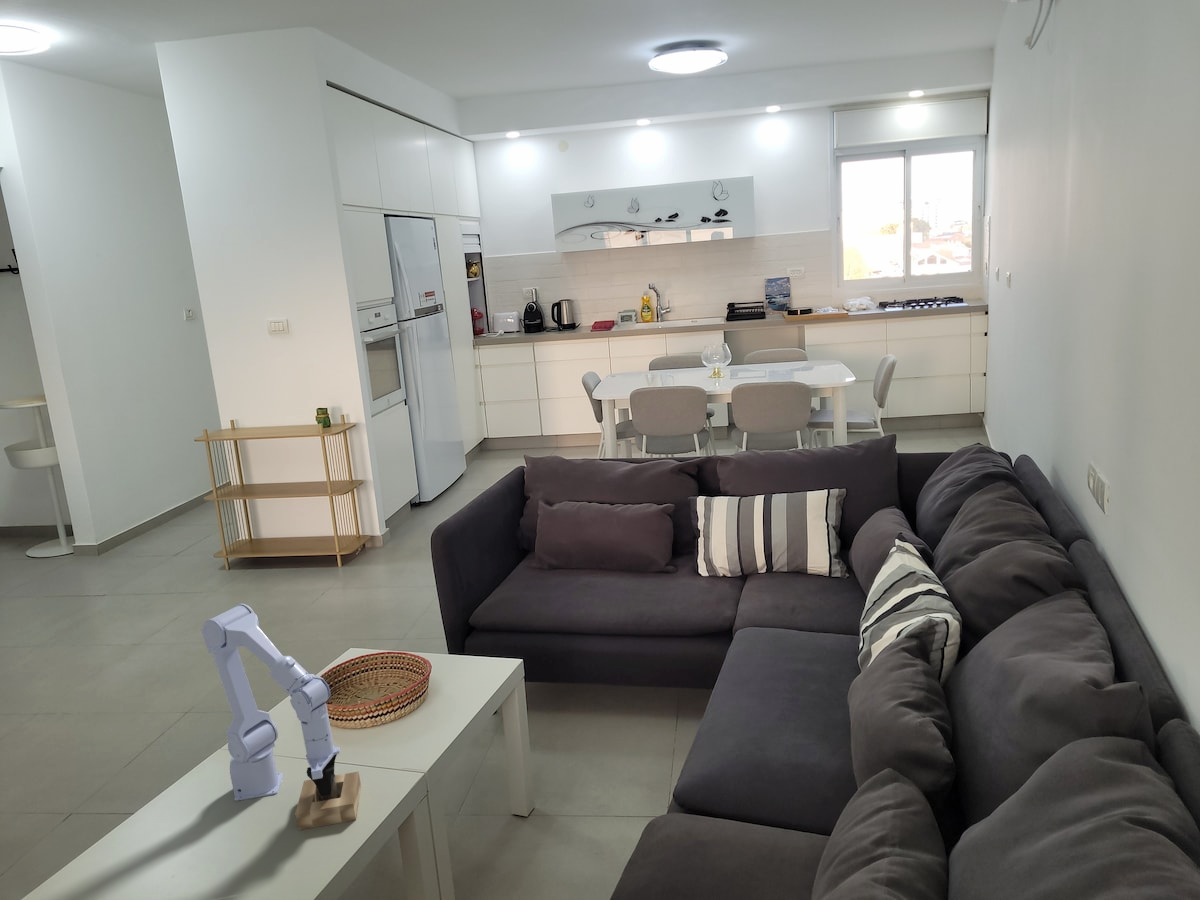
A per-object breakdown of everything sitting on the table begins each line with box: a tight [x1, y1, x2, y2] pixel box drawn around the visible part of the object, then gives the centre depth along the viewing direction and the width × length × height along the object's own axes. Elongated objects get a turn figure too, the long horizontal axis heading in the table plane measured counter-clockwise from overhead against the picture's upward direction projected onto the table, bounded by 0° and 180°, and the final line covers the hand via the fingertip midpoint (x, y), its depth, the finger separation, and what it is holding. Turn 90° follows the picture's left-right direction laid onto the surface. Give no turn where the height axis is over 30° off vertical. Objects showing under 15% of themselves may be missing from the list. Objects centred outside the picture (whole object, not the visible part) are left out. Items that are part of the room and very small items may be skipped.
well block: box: [294, 771, 362, 831], centre depth 195 cm, size 12×12×4 cm
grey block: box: [316, 773, 340, 801], centre depth 195 cm, size 4×4×7 cm
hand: (327, 789), depth 195 cm, fingers open, 3 cm apart
